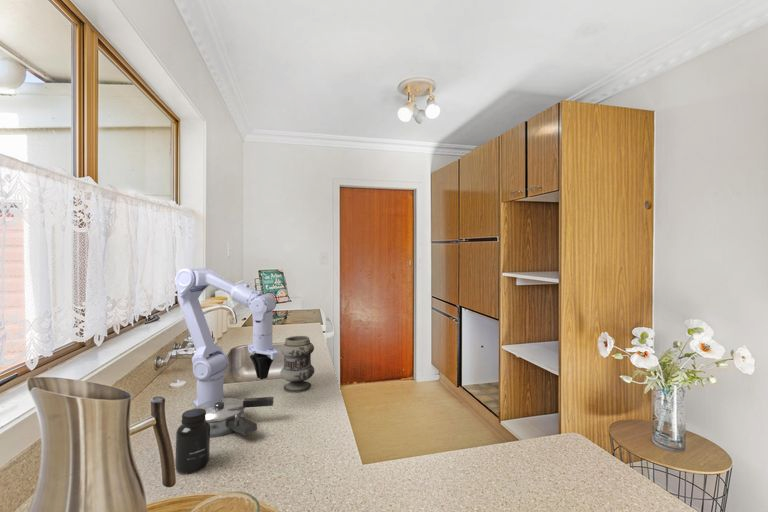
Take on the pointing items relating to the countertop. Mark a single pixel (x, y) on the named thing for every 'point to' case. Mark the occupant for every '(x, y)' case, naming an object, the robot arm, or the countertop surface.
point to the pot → (232, 426)
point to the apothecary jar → (297, 363)
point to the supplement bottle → (192, 442)
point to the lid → (231, 407)
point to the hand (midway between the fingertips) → (262, 377)
